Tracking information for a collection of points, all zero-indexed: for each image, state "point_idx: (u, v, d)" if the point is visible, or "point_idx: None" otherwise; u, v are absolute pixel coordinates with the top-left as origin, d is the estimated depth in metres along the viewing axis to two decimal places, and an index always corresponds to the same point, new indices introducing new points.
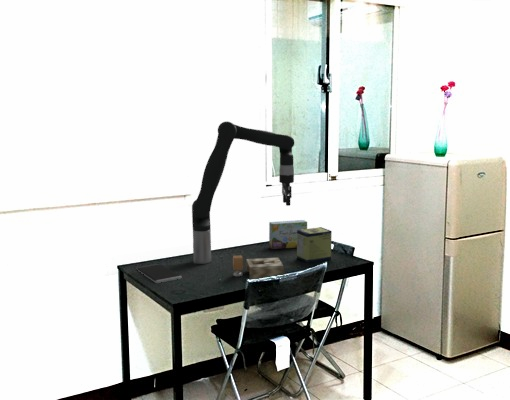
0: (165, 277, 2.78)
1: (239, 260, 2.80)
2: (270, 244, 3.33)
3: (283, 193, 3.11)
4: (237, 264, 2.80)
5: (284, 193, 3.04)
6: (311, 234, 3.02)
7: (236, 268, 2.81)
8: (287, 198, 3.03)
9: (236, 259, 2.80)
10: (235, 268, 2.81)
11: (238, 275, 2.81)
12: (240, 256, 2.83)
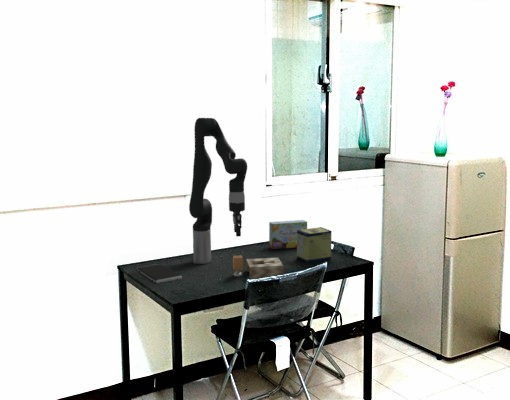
0: (165, 277, 2.78)
1: (239, 260, 2.80)
2: (270, 244, 3.33)
3: (234, 222, 2.82)
4: (237, 264, 2.80)
5: (234, 223, 2.76)
6: (311, 234, 3.02)
7: (236, 268, 2.81)
8: (237, 228, 2.74)
9: (236, 259, 2.80)
10: (235, 268, 2.81)
11: (238, 275, 2.81)
12: (240, 256, 2.83)
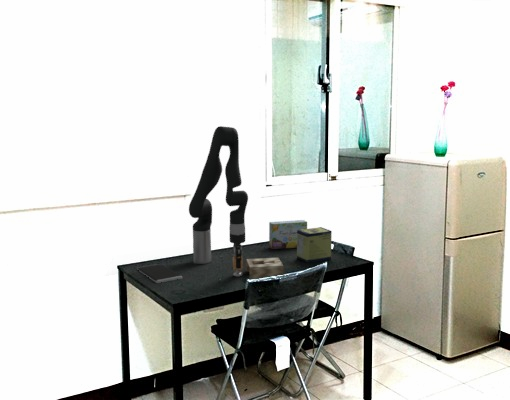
0: (166, 277, 2.78)
1: None
2: (270, 244, 3.33)
3: (235, 254, 2.84)
4: None
5: (234, 254, 2.80)
6: (311, 234, 3.02)
7: (236, 268, 2.81)
8: (237, 261, 2.79)
9: None
10: (235, 268, 2.81)
11: (238, 275, 2.81)
12: None
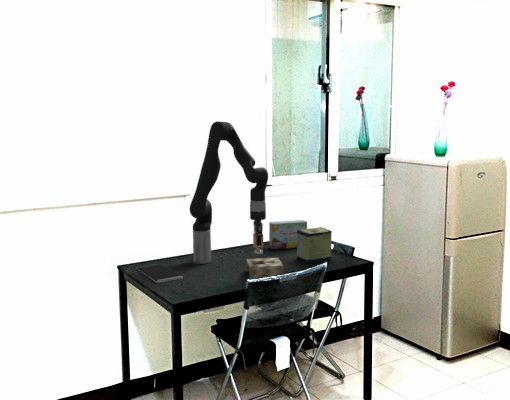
0: (166, 277, 2.78)
1: None
2: (270, 244, 3.33)
3: None
4: None
5: (255, 231, 2.79)
6: (311, 234, 3.02)
7: None
8: (258, 238, 2.78)
9: None
10: (256, 245, 2.80)
11: (259, 252, 2.81)
12: None
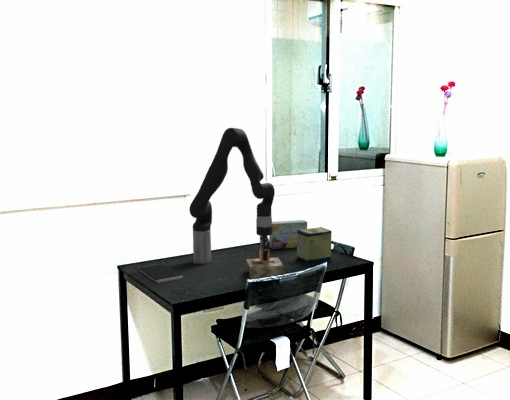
0: (166, 277, 2.78)
1: None
2: (270, 244, 3.33)
3: None
4: None
5: (261, 247, 2.81)
6: (311, 234, 3.02)
7: None
8: (264, 253, 2.79)
9: None
10: (262, 260, 2.82)
11: None
12: None
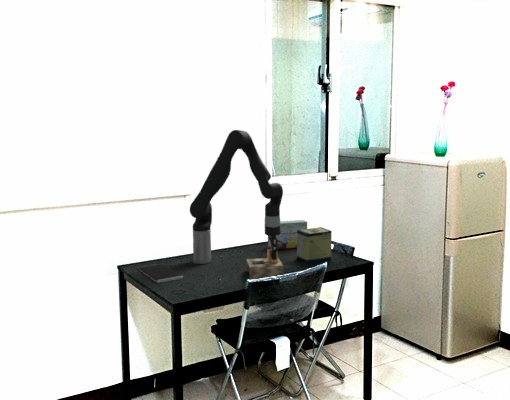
0: (166, 277, 2.78)
1: None
2: None
3: (269, 245, 2.87)
4: None
5: (270, 246, 2.80)
6: (311, 234, 3.02)
7: (271, 261, 2.82)
8: (273, 252, 2.78)
9: (271, 252, 2.82)
10: (270, 261, 2.82)
11: None
12: None
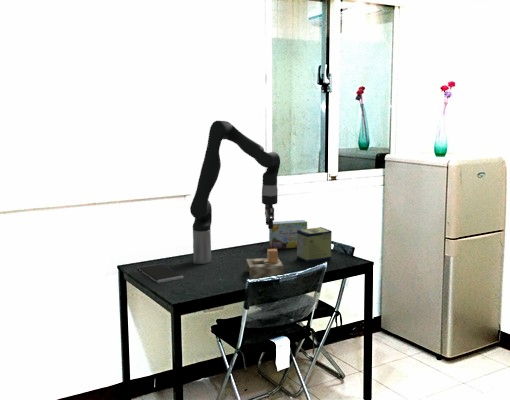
0: (167, 277, 2.78)
1: (274, 253, 2.82)
2: (270, 244, 3.33)
3: (266, 215, 2.87)
4: (272, 257, 2.82)
5: (266, 215, 2.81)
6: (311, 234, 3.02)
7: (271, 261, 2.82)
8: (269, 221, 2.79)
9: (271, 252, 2.82)
10: (270, 261, 2.82)
11: None
12: (275, 249, 2.84)
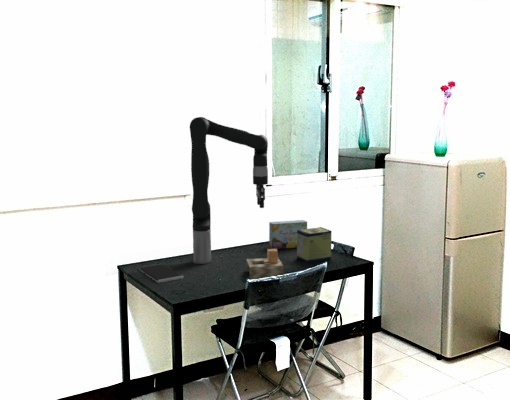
0: (167, 277, 2.78)
1: (274, 253, 2.82)
2: (270, 244, 3.33)
3: (257, 195, 3.01)
4: (272, 257, 2.82)
5: (258, 195, 2.94)
6: (311, 234, 3.02)
7: (271, 261, 2.82)
8: (260, 200, 2.93)
9: (271, 252, 2.82)
10: (270, 261, 2.82)
11: None
12: (275, 249, 2.84)
